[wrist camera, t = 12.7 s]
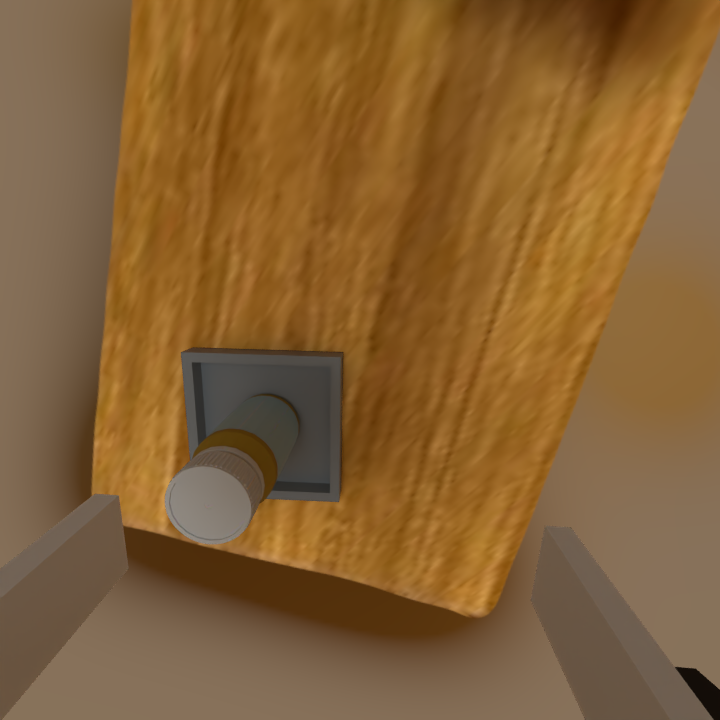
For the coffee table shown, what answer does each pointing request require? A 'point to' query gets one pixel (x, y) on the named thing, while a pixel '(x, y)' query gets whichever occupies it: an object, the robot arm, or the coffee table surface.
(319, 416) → the tray
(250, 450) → the bottle
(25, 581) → the robot arm
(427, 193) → the coffee table surface
